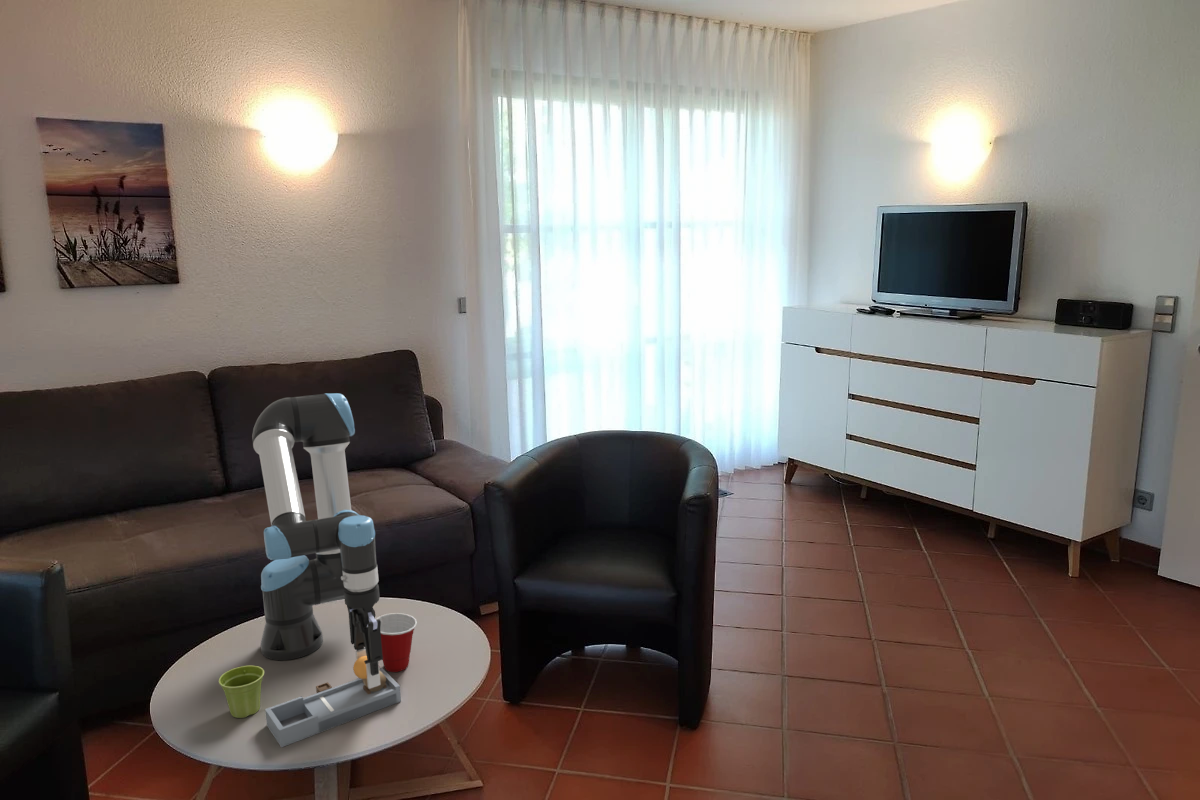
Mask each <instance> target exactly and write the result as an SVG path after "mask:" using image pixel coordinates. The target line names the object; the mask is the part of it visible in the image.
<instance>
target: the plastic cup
mask: <svg viewBox="0 0 1200 800" xmlns="http://www.w3.org/2000/svg"><path fill="white" fill-rule="evenodd" d="M377 619H380V621H381V627H380V632H381V643H382V654H383V660H382V663H383V667H384V670H385V671H386V672H390V673H398V672H402V671H404V670H406V669H407V668H408V667H409V664H410V656H411V655H410V654H411V652H412V651H411V650H412V643H413V634H414V631H415V628H416V626H417V625H418V622H417V618H415V617H414V616H413V615H411V614H407V613H403V612H402V613H401V612H393V613H385V614H382V615H380V616H377V617H375V620H377Z"/></svg>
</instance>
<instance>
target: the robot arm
mask: <svg viewBox="0 0 1200 800" xmlns="http://www.w3.org/2000/svg"><path fill="white" fill-rule="evenodd" d="M351 409H352V408H351V407H350V404H349V401H348V399H347V397H345V395H344V394H342V393H337V392H336V393H321V394H313V395H303V396H302V395H301V396H294V397H292V396H291V397H289V396H288V397H283V398H280V399H277V400H275V401H273V402H271V403H270V404H269V405H268V406H267V407H265V408H264V409H263V411H262V412H260V415H259V416H258V417H257V419H256V421H255V423H254V427H253V429H252V436H251V437H252V439H251V440H252V447H253V450H254V451H255V453H256V454H258V455H259V460H260V466H261V474H262V479H263V485H264V491H265V497H266V503H267V509H268V514H269V521H270V525H271V526H269V527H266V528H264V530H263V539H264V540H263V542H264V547H265V554H266V558H267V559H268V560H270V563H268V564H267V565H265V567H263V569H262V571H261V573H260V580H261V581H260V582H261V585H260V589H261V591H262V599H263V600H262V601H263V609H264V611H263V612H264V618H265V622H264V623H265V624H264V628H263V632H262V636H261V640H260V652H261V655H262V656H264V657H265V658H266V659H269V660H274V661H287V660H288V661H289V660H290V661H291V660H295V659H298V658H302V657H306V656H308V655H310V654H312V653H314V652H316V651H317V650H318V649H320V647H321V646H322V645H323V642H324V639H323V638H324V637H323V636H324V635H323V631H322V629H321V626H320V625H319V622H318V621H317V619H316V617H315V614H314V609H313V607H314V606H317V605H323V604H326V603H332V602H336V601H341V600H344V604H345V605H346V607H347V611H348V625H349V636H350V644H351V645H353V649H354V650H355V661H356V660H357V659H358V658H360V657H362V656H367V660H366V661H364V662H365V664H366V672H367V683H368V688H369V689H370V688H373V687H376V686H379V685H381V684H380V672H379V669H380V661H383V654H382V643H381V632H380V627H381V621H380V619H377V620H375V619H376V611H375V608H374V606H375V605H376V604H377V603H378V602H379V600H380V596H381V595H380V585H379V584H378V583H379V581H380V580H379V570H378V563H377V552H376V551H377V550H376V549H377V548H376V530H375V525H374V519H372V517H369V516H367V515H363V514H362V515H361V514H359V513H358V512H356V511H354V510H353V509H352V505H351V503H352V502H351V495H350V487H349V486H350V485H349V478H348V477H349V476H348V468H347V460H346V452H345V451H346V448H347V447H348V445H349V444H350V443H351V441H350V437H353V436H354V435H355V434H356V429H355V421H354V417H353V413H352V410H351ZM299 442H302V446H303V450H305V451H306V452H308V453H309V456H310V461H311V468H312V478H313V487H314V497H315V505H316V511H317V512H316V513H317V519H312V520H307V519H306V514H305V509H304V503H303V498H302V493H301V488H300V483H299V479H298V473H297V470H296V469H297V468H296V464H295V458H294V454H293V448H294V445H295V443H299ZM313 554H315V558H313V559H309V558H308V556H307V555H313Z"/></svg>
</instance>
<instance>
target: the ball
mask: <svg viewBox="0 0 1200 800" xmlns="http://www.w3.org/2000/svg"><path fill="white" fill-rule="evenodd" d="M366 660H367V656H362V657H360V658H358V659H357V660H356V659H355V661H354V663H353V667H352V669H353V673H354V676H356V677H357V679H358V678H361V679H367V672H366V664H365V662H364V661H366Z"/></svg>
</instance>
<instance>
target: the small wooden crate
mask: <svg viewBox="0 0 1200 800" xmlns="http://www.w3.org/2000/svg"><path fill="white" fill-rule="evenodd" d="M330 688H333V687H332V685H331V684H330V683H329V682H324V683H321V684H319V685H316V686H315V691H316V693H319V692H322V691H325V690H327V689H330ZM316 693H315V694H316Z"/></svg>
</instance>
